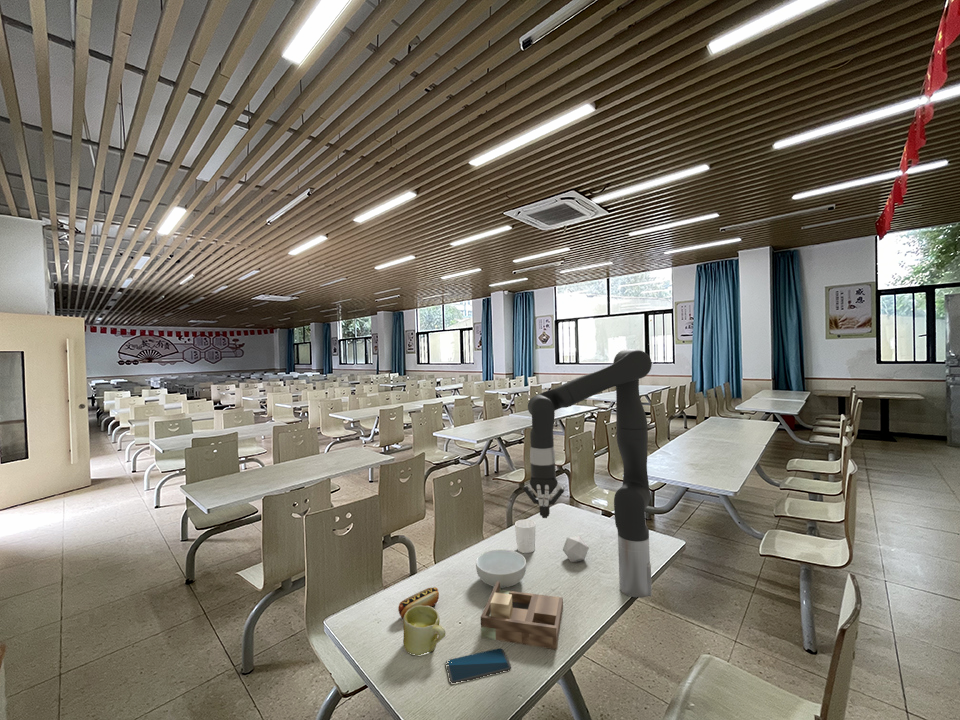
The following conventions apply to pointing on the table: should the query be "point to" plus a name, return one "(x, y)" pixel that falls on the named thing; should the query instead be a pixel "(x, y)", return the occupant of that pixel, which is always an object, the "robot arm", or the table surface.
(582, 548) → the die
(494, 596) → the maple block
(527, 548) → the white cup
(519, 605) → the box
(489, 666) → the smartphone
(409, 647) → the mug
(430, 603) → the hot dog
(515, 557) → the cereal bowl
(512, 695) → the table surface
